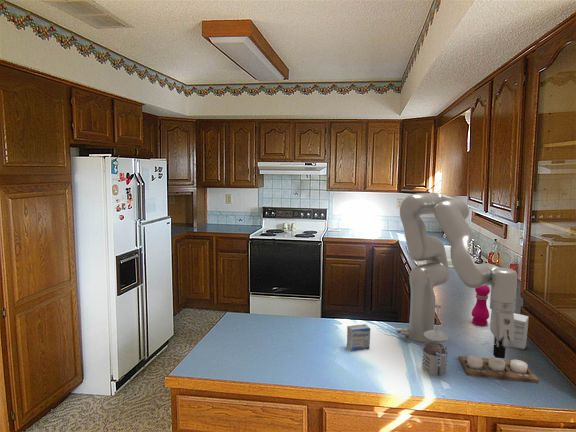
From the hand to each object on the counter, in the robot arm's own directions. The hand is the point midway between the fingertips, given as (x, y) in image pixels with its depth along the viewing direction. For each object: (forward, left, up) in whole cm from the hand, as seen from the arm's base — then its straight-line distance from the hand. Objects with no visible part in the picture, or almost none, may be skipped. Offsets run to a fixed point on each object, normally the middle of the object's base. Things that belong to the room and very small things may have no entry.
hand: (498, 356), depth 138 cm
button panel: (0, 0, -7) cm, 6 cm away
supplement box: (+14, +24, -7) cm, 29 cm away
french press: (-21, -5, -7) cm, 23 cm away
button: (0, 0, -5) cm, 5 cm away
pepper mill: (+7, +46, -7) cm, 47 cm away
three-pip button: (-7, 0, -5) cm, 9 cm away
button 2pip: (+7, 0, -5) cm, 8 cm away
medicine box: (-47, +10, -7) cm, 49 cm away
